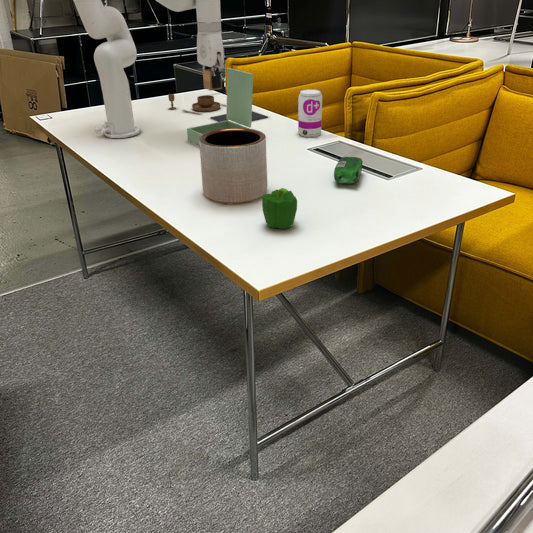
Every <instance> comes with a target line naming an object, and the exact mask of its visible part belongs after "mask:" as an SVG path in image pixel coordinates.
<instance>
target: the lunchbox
mask: <svg viewBox="0 0 533 533" xmlns="http://www.w3.org/2000/svg"><path fill="white" fill-rule="evenodd" d="M224 128H248V129H250V128H249V127H247V126H244V125H241V124H239V123H236V122H233V121H231V120H226V121H221V122H219V121H216V122H212V123H206V124H201V125H197V126H193V127H188V128H186V133H187V140H188V141H189V142H191V143H193V144H195V145H197V146H200V144H199V138H200V136H201V135H203V134H205V133H207V132H209V131H213V130H217V129H224Z"/></svg>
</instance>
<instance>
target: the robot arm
mask: <svg viewBox="0 0 533 533" xmlns="http://www.w3.org/2000/svg"><path fill="white" fill-rule="evenodd" d="M72 1H73V3H74V4H75V5H74V6H75V8H76V10H77V13H78V15H79V17H80V20H81V22H82V25H83V27H84V30H85V31H86V33H87V35H88V36H89V37H90V38H92V39H94V40H102V39H103V40H104V39H105V38H106V40H107V41H105V42H102V43H100V44H99V45H98V46H97V47H96V48H95V51H94V53H93V61H94V64H95V67H96V68H95V69H96V71H97V74H98V78H99V81H100V87H101V92H102V99H103V104H104V105H103V106H104V110H105V118H106V121H104V124H102V125H98V126H94V131H95V133H100V132H101V134H103V133H104V136H105V137H107V138H111V139H125V138H126V139H127V138H131V137H134V136H137V135H139V134H140V131H141V130H140V128H139V127H137V126H136V125H135V119H134V118H135V117H134V111H133V104H132V96H131V89H130V83H129V79H128V77H127V74H126V72H125V70H124V68H128V67H130V66H132V65H133V64H135V62H136V60H137V57H138V53H137V52H138V51H137V47H136V45H135V42H134V40H133V36H132V34H131V32H130V29H129V27H128V25H127V22H126V19H125V18H124V16H123V14H122V13H121V12H120V10H118V9H117V8H115V7H114V6H110V5H107V6H104V4H103V1H102V0H72ZM155 1H156V2H157V3H159V4H160V5H162V6H163V7H165V8H167V9H168V10H170V11H173V12H177V13H179V12H185V11H188V10H189V11H190V10H192V9H193V10H194V9H196V10H195V11H196V24H197V25H196V26H197V36H196V59H197V60H196V61H197V63H198V64H199V65H201V68H202V71H203V70H204V69H212V74H213V76H212V88H213V89H216V88H221V81H222V74H223V70H224V69H225V65H224V62H225V54H224V53H225V52H224V44H223V37H222V15H221V14H222V12H221V0H155ZM215 69H216V70H215Z"/></svg>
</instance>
